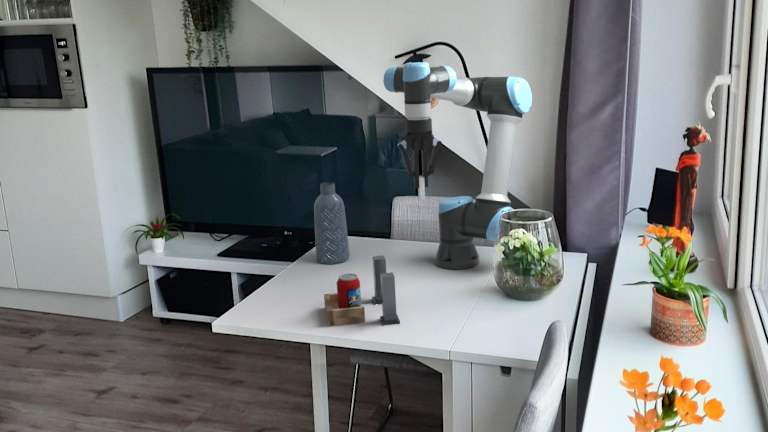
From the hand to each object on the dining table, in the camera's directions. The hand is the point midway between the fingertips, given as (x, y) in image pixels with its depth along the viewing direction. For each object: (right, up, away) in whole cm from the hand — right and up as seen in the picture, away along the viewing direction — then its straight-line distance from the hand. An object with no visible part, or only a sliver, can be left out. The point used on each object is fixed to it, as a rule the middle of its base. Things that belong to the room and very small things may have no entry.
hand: (421, 198), depth 222 cm
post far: (-12, -31, +11) cm, 35 cm away
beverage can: (-21, -34, +2) cm, 40 cm away
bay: (-22, -34, +2) cm, 41 cm away
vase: (-30, -21, +55) cm, 66 cm away
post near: (-9, -35, -4) cm, 37 cm away
